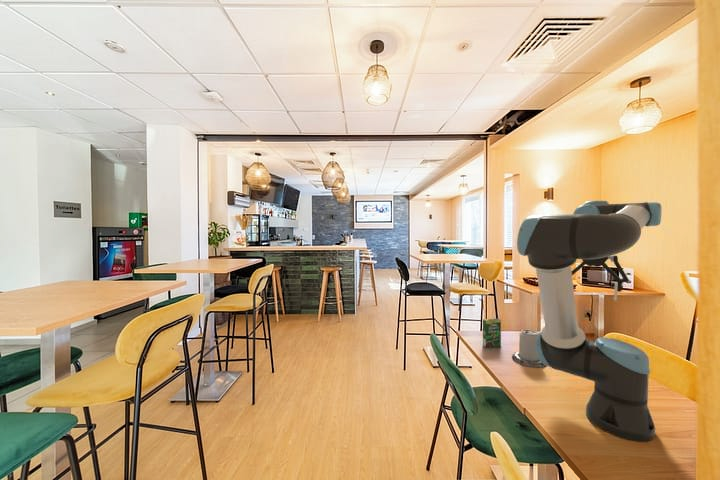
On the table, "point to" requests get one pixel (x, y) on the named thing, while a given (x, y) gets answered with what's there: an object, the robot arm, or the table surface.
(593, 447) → the table surface
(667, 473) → the table surface
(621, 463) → the table surface
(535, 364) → the flange socket
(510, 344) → the table surface
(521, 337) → the can
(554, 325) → the robot arm
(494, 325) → the coffee box
